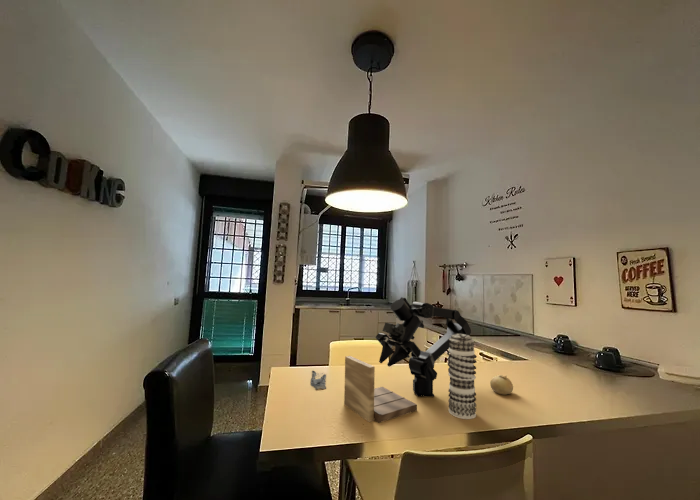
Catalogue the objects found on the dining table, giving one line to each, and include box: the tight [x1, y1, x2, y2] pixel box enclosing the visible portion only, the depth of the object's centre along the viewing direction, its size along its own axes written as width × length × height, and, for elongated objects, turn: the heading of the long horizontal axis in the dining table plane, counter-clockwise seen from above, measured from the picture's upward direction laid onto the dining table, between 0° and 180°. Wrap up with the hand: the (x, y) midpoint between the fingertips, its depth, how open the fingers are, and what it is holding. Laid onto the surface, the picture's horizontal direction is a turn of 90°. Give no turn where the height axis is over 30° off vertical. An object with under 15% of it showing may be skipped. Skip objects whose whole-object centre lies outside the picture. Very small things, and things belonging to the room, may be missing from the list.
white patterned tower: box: [446, 334, 477, 420], centre depth 99 cm, size 9×9×25 cm
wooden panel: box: [373, 386, 418, 424], centre depth 102 cm, size 16×18×2 cm
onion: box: [490, 374, 514, 395], centre depth 116 cm, size 8×8×7 cm
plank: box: [343, 355, 376, 422], centre depth 97 cm, size 2×14×16 cm, turn 33°
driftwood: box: [310, 370, 327, 391], centre depth 125 cm, size 21×7×2 cm, turn 4°
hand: (384, 364), depth 104 cm, fingers open, 4 cm apart
